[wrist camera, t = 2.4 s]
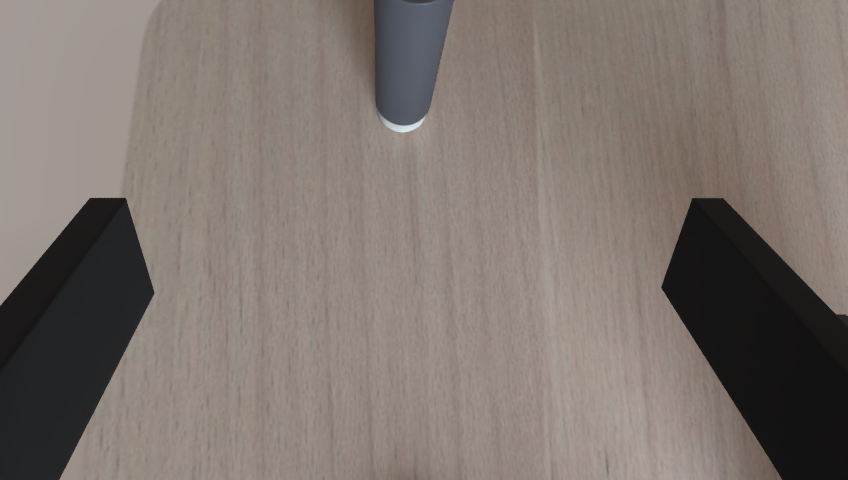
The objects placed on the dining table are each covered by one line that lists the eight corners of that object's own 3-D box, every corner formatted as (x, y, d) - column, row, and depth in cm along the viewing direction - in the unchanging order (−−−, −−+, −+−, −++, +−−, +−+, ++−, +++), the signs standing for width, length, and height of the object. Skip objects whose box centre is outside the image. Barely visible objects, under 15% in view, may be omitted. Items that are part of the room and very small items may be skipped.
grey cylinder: (365, 117, 30) (357, -24, 18) (392, 75, 30) (400, -90, 19) (412, 143, 30) (434, 19, 18) (438, 100, 30) (475, -48, 19)
